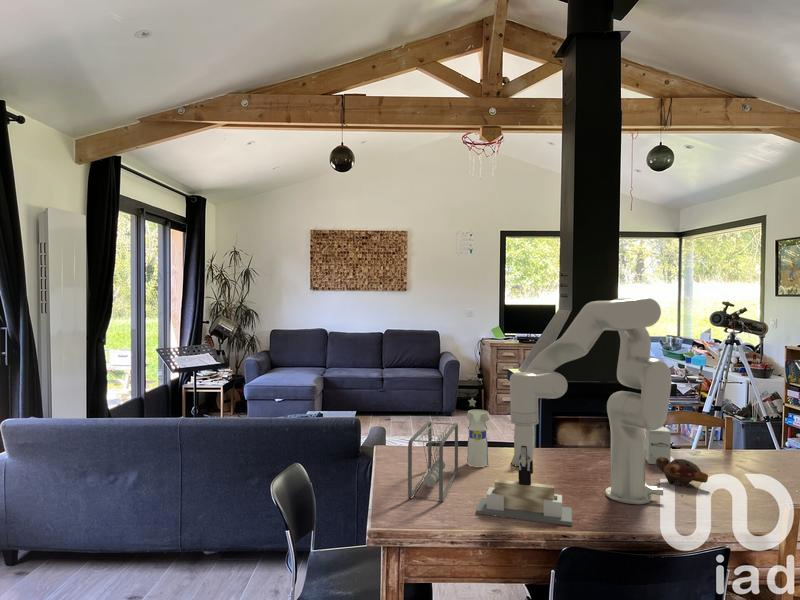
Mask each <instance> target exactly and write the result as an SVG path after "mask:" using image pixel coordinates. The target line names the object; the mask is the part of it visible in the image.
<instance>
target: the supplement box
mask: <svg viewBox="0 0 800 600" xmlns="http://www.w3.org/2000/svg"><path fill="white" fill-rule="evenodd" d="M659 457H665V458H668V460H669V462H671V461H672V460H671V431H670V430H669V429H668V427H666V426H665V427H664V426H662V427H661V428H659V429H656V430H648V429H645V461H646V462H647V464H649V465H657V464H656V460H657V458H659Z"/></svg>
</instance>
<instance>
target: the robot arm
mask: <svg viewBox="0 0 800 600" xmlns="http://www.w3.org/2000/svg"><path fill="white" fill-rule="evenodd" d="M661 315H662V310H661V306H660V304H659V303H658V302H657V300H655V299H653V298H650V297H620V298H615V299H612V300H596V301H595V300H594V301H590V302H588V303H586V304H585V305H584V306H583V307H582V308H581V310H580V311H579V313H578V314H577V315H576V316H575V318H574V319H573V321H572V322H571V323H570V325H569V326H568V328H567V329H566V330H565V332H564V333H563V334H562V336H561V337H560V338H558V339H556V340H555V341H554V342H552V343H551V344H549V345H548V346H547V347H545V348H543V349H542V350H541V351H540V352H538V354H537V355H536V356H534V358H533V359H532V361H531V362H530V363H529V364H528V367H527V368H526V370H525V371H523V372H522V371H518V372H513V373H512V374H510V377H509V392H510V393H509V395H510V396H509V397H510V398H509V400H510V423H511V424H513V425H514V428H513V436H514V437H513V442H514V443H513V445H514V446H513V453H514V454H513V456H514V460H515V461H517V460H518V459H519V467H518V482H519V485H528V486H530V485H531V483H532V474H533V473H534V463H533V461H534V460H533V459H534V453H535V426H536V425H539V423H540V422H539V421H540V420H539V399H553V400H554V399H559V398H561V397H563V396H564V395H565V393H567V391H568V381H567V379H566V377H565V376H564V375H562V374H561V373H559V372H556V371H555V370H556V369H557V368H559V367H560V366H562V365H563V364H565V363H569V362H571V361H575V360H577V359H580V358H582V357H585V356H586V355H587V354H588V353H589V351H591V349H592V348H593V346H594V345H595V344H596V341H598V339H599V338H600V336H601V334H602V333H604V331H617V332H618V335H619V339H620V344H619V352H618V360H617V365H616V366H617V368H616V378H617V381H618V382H619V383H620V384H621V385H622V386H624V387H628V388H632V389H636V390H641V393H637V392H633V391H627V390H626V391H625V390H620V391H616V392H613V393H612V394H610V396H609V398H608V400H607V402H606V412H607V416H608V421H609V427H610V486H609V487H607V488H605V495H606V497H607V498H609V499H611V500H613V501H616V502H619V503H623V504H629V505H630V504H631V505H643V504H644V505H645V504H649V503H650V502H652V495H656V496H662V497H663V496H664V489H663V488H660V487H659V488H658V487H657V486H653V485H648V484H647V482H646V436H645V433H644V430H646V429H648V430H656V429H659V428H661V427H664V424H665V423H666V421H667V417H668V411H669V404H670V397H671V392H672V391H671V390H672V378H673V377H672V372H671V369H670V367H669V366H668V364H667V363H666V362H665V361H663V360H661V359H658V358H652V357H651V345H652V340H651V336H650V335H651V334H650V333H649V331H648V329H647V328H649V327H652V326H654V325H656V323H658V321H659V320H660V317H661ZM643 429H644V430H643Z"/></svg>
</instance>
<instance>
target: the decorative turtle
mask: <svg viewBox="0 0 800 600" xmlns="http://www.w3.org/2000/svg"><path fill="white" fill-rule="evenodd" d="M670 461H671V462H669V460H668V458H665V457H659V458H657V460H656V464H655V465H656V466H657V467H658V469H659V470H660V471H661V472H662V473H663V474H664V476H665V478H666V481H667V483H669V484H670V485H673V484H675V483H676V482H679V483H680V484H681V485H682V486H683V487H684V488H686V487H688V486H689V485H690V483H691V482H693V481H694V482H699V483H703V484H704V483H707V482H708V480H709V475H708V474H707V473H705V472H702V470H701V469H700V467H699V466H698V465H697V464H696V463H694V462H692V461H690V460H688V459H687V460H686V459H682V458H675V459H673V460H670Z"/></svg>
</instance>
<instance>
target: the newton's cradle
mask: <svg viewBox="0 0 800 600" xmlns="http://www.w3.org/2000/svg"><path fill="white" fill-rule="evenodd" d="M435 425H436V426H435ZM437 425H447V426H445V429H440V428H439V426H437ZM451 425H452V426H451ZM450 426H451V427H450ZM433 427H437V430H439V431H440V430H443V431H440V433H441V434H439V437H437V438H436V437H435V436H433V435H435V434H434V433H435V431H434V428H433ZM448 429H449V430H448ZM447 430H448V431H447ZM453 432H454V471H453V472H454V474H453V473H452V476H451V477H450V480H449V481H448V483H447V485H446V487H445V489H444V473H443V472H444V470H445V468H446V464H445V463H446V462H445V461H444V444H445V443H446V441H447V440H448V438H449V437H450V436H451V434H452V433H453ZM426 433H427V434H426ZM426 435H427V436H426ZM419 436H420V437H419ZM432 436H433V437H432ZM418 437H419V438H418ZM417 438H418V439H417ZM424 438H425V439H427V440H424ZM421 439H422V440H421ZM433 439H434V440H433ZM413 442H417V443H418V442H419V443H422V444H423V446H425V443H426V445H427V446H426V449H427V454H428V455H427V454H426V450H425V447H423V451H424V456H425V457H427V456H428V458H425V460H426V466H427V470H428V469H430V470H428V473H427V475H426V476H425V477H424V475H422V477H421V478H422V479H420V480H419V481H420V482H419V481H418V482H417V484H416V486H415V487H414V488H413V484H412V483H413V474H412V473H413V472H412V471H413V466H412V465H413ZM407 443H408V445H407V496H408V498H409V497H410V498H411V497H412V496H413V495H414V493H415V492H416V490H417V488H418V486H419V485H420V483H421V482H422V480H423V478H424V482H423V483H424V485H425V486H427V487H434V486H435V484H436V483H437V481H439V482H438V498H437V497H434V498H435V499H439V500H438V501H440V502H441V501H443V500H444V501H445V499H446V497H447V495H448V493H449V491H448V490H450V489H451V487H452V485H453V483H452V481H453V479H454V477H455V475H456V473H457V474H458V472H457V471H459V424H458V423H457V422H454V423H449V422H433V421H431V420H428V421H426V423H425V424H423V426H422V427H420V428H419V429H418V431H416V432H415V434H414V435H412V437H411V438H410V439H409V440H408V442H407ZM434 443H435V448H434V446H433V445H434ZM432 448H433V451H434V452H433V454H432ZM433 455H434V457H432V456H433ZM427 460H428V461H427ZM456 476H457V475H456ZM455 478H456V477H455ZM454 480H455V479H454ZM453 482H454V481H453ZM451 484H452V485H451ZM450 486H451V487H450ZM449 488H450V489H449ZM412 489H413V490H412ZM447 492H448V493H447ZM416 493H417V492H416ZM446 494H447V495H446ZM414 496H415V495H414ZM445 496H446V497H445ZM427 497H428V498H430V497H429V496H427ZM410 498H409V499H410ZM444 498H445V499H444ZM435 499H434V500H435ZM444 501H443V502H444Z"/></svg>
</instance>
